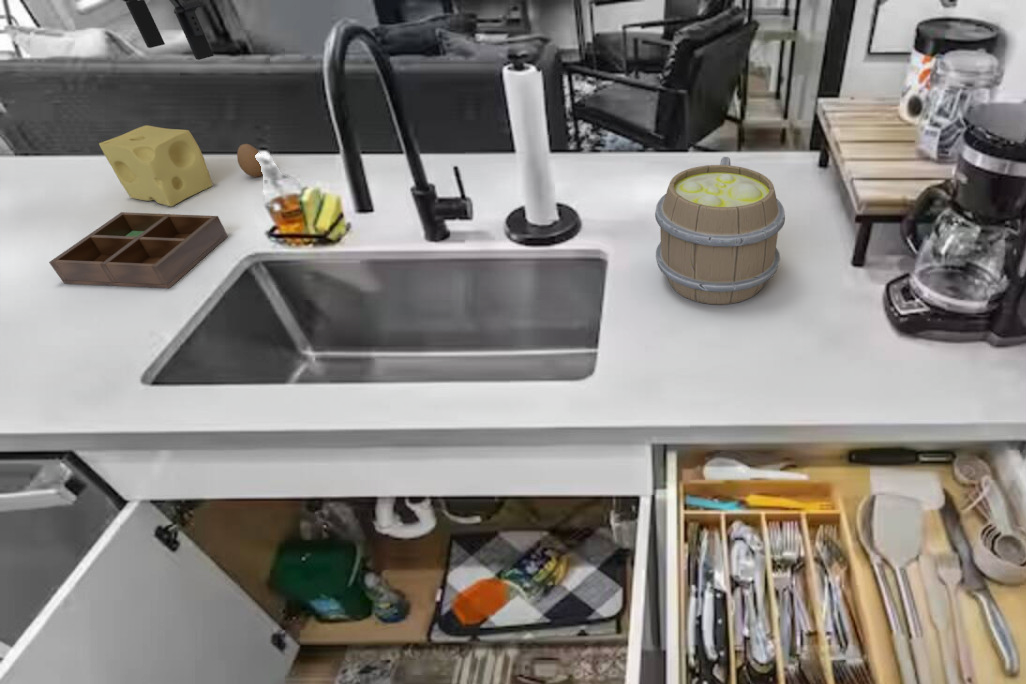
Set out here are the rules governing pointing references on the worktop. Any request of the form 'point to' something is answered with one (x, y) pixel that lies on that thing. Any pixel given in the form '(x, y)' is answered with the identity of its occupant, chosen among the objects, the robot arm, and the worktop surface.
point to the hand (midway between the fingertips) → (180, 51)
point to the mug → (719, 233)
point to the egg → (249, 160)
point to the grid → (140, 250)
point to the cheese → (158, 164)
